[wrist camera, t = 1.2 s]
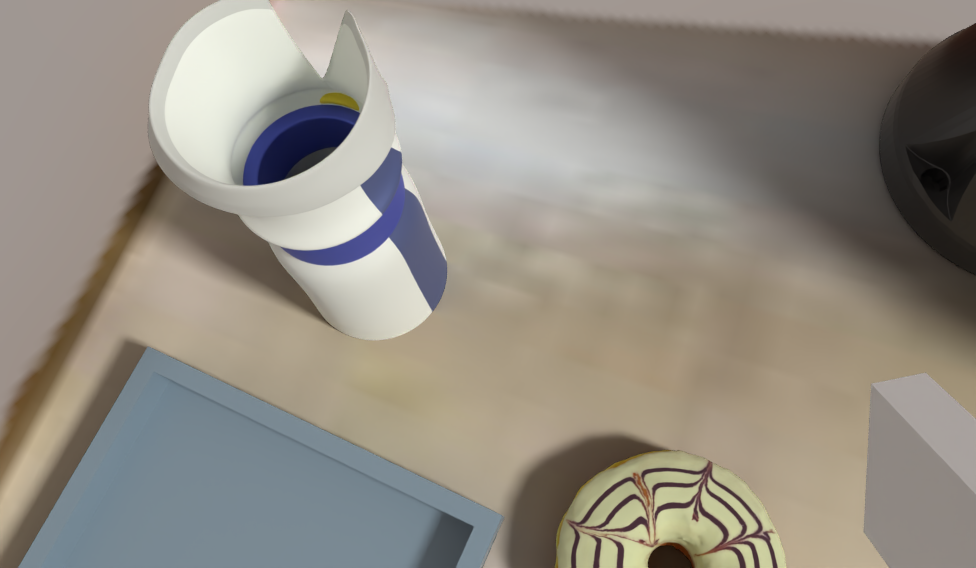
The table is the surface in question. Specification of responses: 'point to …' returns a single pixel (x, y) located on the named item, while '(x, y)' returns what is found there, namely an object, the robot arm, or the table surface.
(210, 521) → the blue-gray tray
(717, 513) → the decorated donut
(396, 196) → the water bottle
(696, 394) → the table surface
